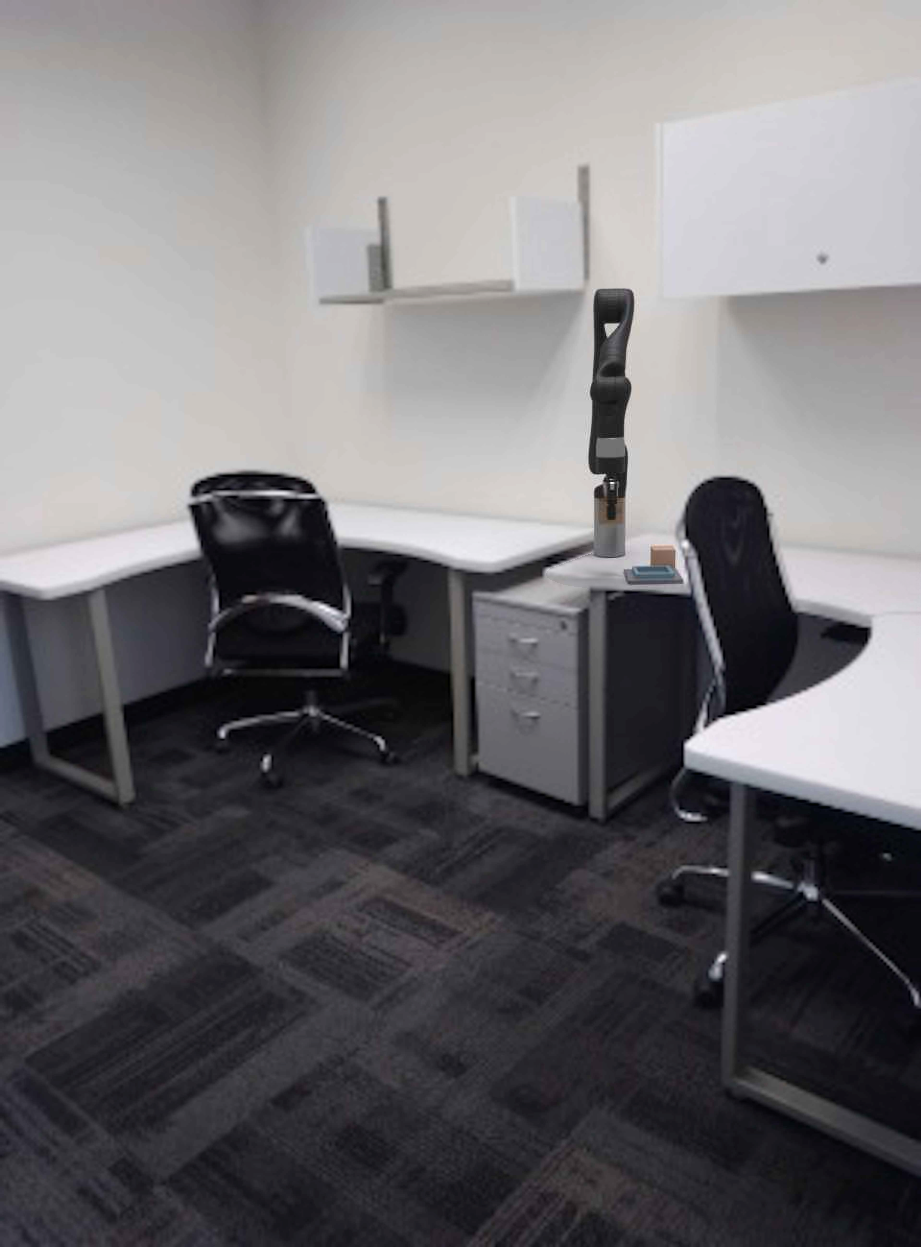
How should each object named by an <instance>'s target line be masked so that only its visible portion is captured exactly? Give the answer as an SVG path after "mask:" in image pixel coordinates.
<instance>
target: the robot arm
mask: <svg viewBox="0 0 921 1247" xmlns="http://www.w3.org/2000/svg"><path fill="white" fill-rule="evenodd" d="M592 306H593V309H592V310H593V360H592V361H593V363H592V365H593V366H592V381H591V384H590V388H589V396H590V400H591V424H590V434H589V443H588V454H587V455H588V457H587V460H588V468H589V471H590V473H591V474H593V475H596V476H597V475H605V476H604V477H603V479H602V484H599V485H597V486H596V487H595V488H594V490H593V554H594V556H596V557H602V558H617V557H622V556H625V555H626V496H627V495H626V491H627V486H628V467H629V453H628V452H629V451H628V447H627V445H626V444H625V443H626V442H625V417H626V411H627V408H628V404H629V401H630V398H631V394H632V383H631V381H630V379H629V378H628V377H626V368H627V367H626V366H627V364H626V363H627V351H628V350H627V349H628V345H629V341H630V340H629V339H630V335H631V329H632V324H633V320H634V316H635V314H634V313H635V294H634V292H633V290H632V289H630V288H617V287H616V288H599V289H596V290H595V292H594V296H593V305H592ZM606 324H607V325H608V324H609V325H611V324H616V325H617V324H618V325H617V327H616V328H615V329H614V330H613V331H612V333H611V334H610V335H609V336H608V335H607V331H606ZM603 498H606V499H607V503H606V505H607V519H608V520H615V519H616V504H617V498H621V499H622V501H623V524H599V521H598V499H603ZM609 498H614V500H609Z"/></svg>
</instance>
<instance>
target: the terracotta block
mask: <svg viewBox="0 0 921 1247" xmlns="http://www.w3.org/2000/svg"><path fill="white" fill-rule="evenodd" d="M666 565H669V566H670V567H671V568H676V548H675V547H674V546H673V545H650V565H649V566H666Z"/></svg>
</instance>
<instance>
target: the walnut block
mask: <svg viewBox="0 0 921 1247" xmlns="http://www.w3.org/2000/svg"><path fill="white" fill-rule="evenodd" d="M609 500H614V498H609ZM606 503H607V499H606V498H603V499H598V521H599V524H623V501H622V499H621V498H617V504H616V519H615V520H608V519H607V505H606Z"/></svg>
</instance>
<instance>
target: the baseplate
mask: <svg viewBox="0 0 921 1247" xmlns="http://www.w3.org/2000/svg"><path fill="white" fill-rule="evenodd" d="M623 574H624V577H625V579H626V581H627V584H628V585H663V584H666V585H667V584H684V578H683V577H682V575H681V574H680V572H679V571H678V569H677V567H675V568H671V567H670V566H669V565H666V566H650V565H632V566H631V568H623Z"/></svg>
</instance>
